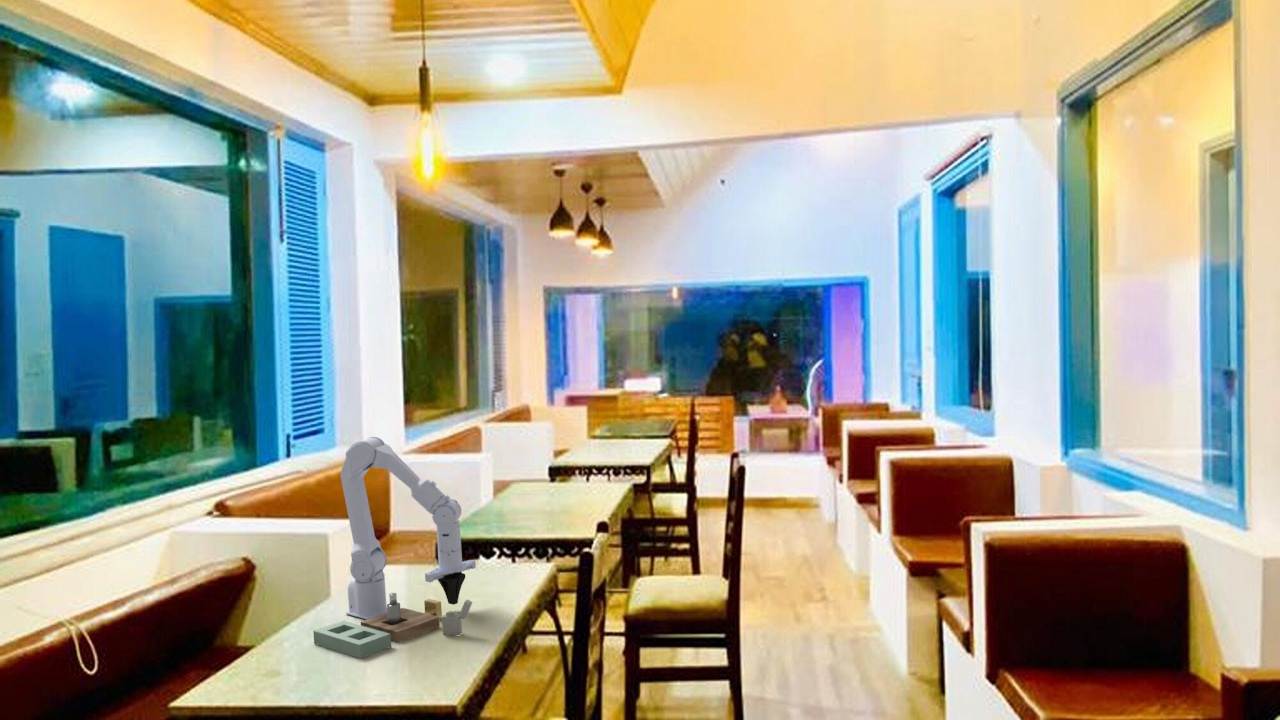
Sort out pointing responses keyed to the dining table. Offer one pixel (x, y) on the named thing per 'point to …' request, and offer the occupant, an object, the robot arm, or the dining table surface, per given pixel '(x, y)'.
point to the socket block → (404, 624)
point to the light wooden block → (433, 607)
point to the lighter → (455, 620)
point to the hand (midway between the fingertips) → (453, 603)
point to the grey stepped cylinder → (393, 610)
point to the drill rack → (352, 639)
